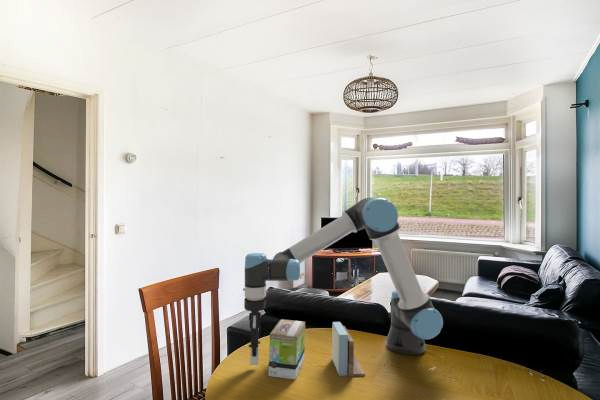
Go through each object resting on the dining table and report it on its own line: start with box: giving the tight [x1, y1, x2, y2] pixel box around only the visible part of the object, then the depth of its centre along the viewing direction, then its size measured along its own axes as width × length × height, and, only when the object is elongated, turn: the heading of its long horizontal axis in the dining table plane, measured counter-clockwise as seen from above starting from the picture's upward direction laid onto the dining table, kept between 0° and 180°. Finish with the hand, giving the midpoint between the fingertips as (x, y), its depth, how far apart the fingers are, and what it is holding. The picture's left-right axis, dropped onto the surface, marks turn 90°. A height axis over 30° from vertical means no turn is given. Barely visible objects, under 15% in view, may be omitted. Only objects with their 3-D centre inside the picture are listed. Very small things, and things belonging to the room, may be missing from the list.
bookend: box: [342, 325, 366, 378], centre depth 123 cm, size 6×14×12 cm, turn 6°
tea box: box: [267, 319, 306, 380], centre depth 122 cm, size 15×10×15 cm
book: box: [331, 321, 348, 377], centre depth 123 cm, size 3×12×14 cm, turn 6°
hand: (254, 363), depth 121 cm, fingers closed
